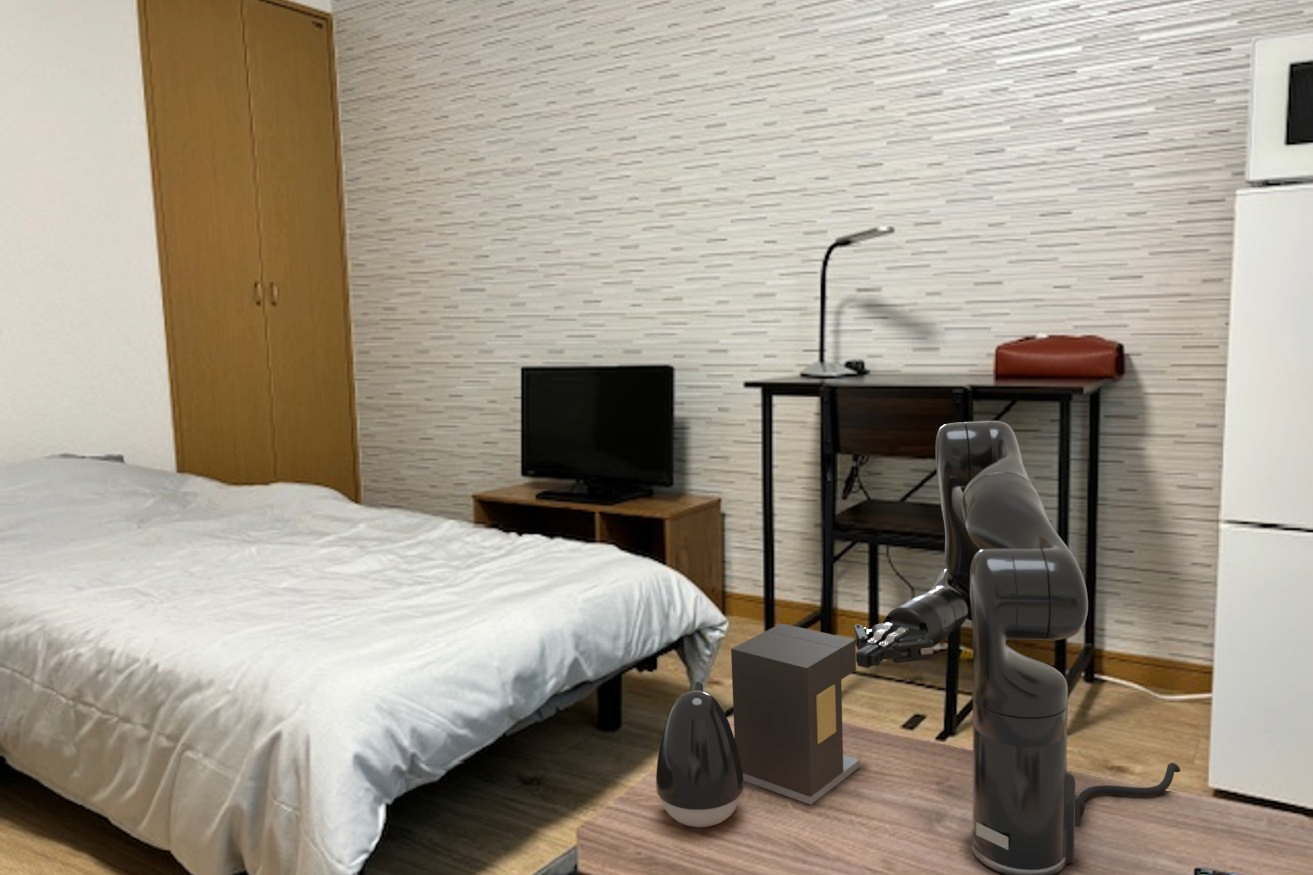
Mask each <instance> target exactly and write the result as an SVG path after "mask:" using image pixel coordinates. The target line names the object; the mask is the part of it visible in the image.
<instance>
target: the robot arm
mask: <svg viewBox="0 0 1313 875" xmlns="http://www.w3.org/2000/svg"><path fill="white" fill-rule="evenodd" d="M934 452H935V466H936V467H935V468H936V477H937V486H938V494H939V502H940V507H941V514H942V519H943V524H944V565H945V566H944V567H945V568H944V569H942V570H941V571H940V573H939V574H938V576H937V577H936V579H935V582H934V584H933V586H931V588H930V589H929V590H928V591H926V592H924V593H922V594H920V595H917V596H914V597H913V598H911V599H909V600H907V601H905V602H903V603H902V604H900V605H899V606H897V607H895V608H893V609H892V610H891V611H889V613H888V614H887V615H886V616H885V618H884V620H883V621H882V623H878V624H874V625H873V626H872V627H871V628H870V629H869V628H867V627H864V625H862V624H858V623H857V624H854V625H853V634H854V635H853V637H854V638H853V639H854V640H855V645H856V649H857V650H856V666H858V667H861V668H864V669H870V668H871V667H873V666H876V665H878V664H879V663H886V662H889V661H890V660H892V662H893V663H894V664H900V663H901V664H902V663H909V662H918V661H925V660H932V659H934V648H935V647H936V646H937V645H938V644H940V643H942V642H943V641H944V640H945V639H946V638H947V637H948V636H949V635H950V634H951V633H953V632H955V631H956V630H958V628H960V627H961V626H962V625H964V623H965V622H966V620H969V621H971V630H972V631H971V632H972V835H971V849H972V853H973V854H974V856H975V857H976V859H977V860H979V861H980V862H981V863H982V864H983V865H985V866H986V867H988V868H990V869H992V870H994V871H996V872H997V873H1001V874H1005V875H1055V874H1057V873H1059V872H1060V871H1061V870H1062V869H1064V868H1065V866H1066V865H1067V864H1068V865H1069V864H1073V863H1075V828H1078V827H1080V826H1081V820H1082V818H1083V815H1084V813H1085V810H1086V805H1085V802H1086V801H1087V800H1088V799H1089V798H1090V797H1092V796H1095V795H1100V794H1117V795H1126V796H1155V795H1158V794H1159V795H1160V793H1163V792H1165V791H1166V790H1167V789H1168V788H1169V787H1170V786H1171V784H1172V782H1173V779H1174V775H1175V773H1180V772H1182V771H1181V768H1180V766H1179V765H1178V764H1177V763H1175V762H1170V763H1168V764H1167V767H1166V771H1165V774H1164V777H1163V779H1162V780H1161V782H1160V783H1158V784H1157V785H1154V786H1147V787H1134V786H1123V785H1108V784H1106V785H1105V784H1104V785H1103V784H1102V785H1093V786H1091V787H1088V788H1086V789H1084V790H1083V791H1081V792H1080V793H1079V795H1077V794H1076V778H1075V775H1073V774H1072V773H1071V772H1070V771H1068V768H1067V767H1068V704H1069V703H1068V702H1069V699H1068V697H1069V688H1068V682H1067V680H1066V678H1065V676H1064V675H1063V673H1062V672H1060V671H1059V670H1058V669H1056V668H1055V667H1053V666H1052V665H1050V664H1047V663H1045V662H1043V661H1039V660H1037V659H1035V658H1032V657H1029V656H1026V655H1025V654H1022V653H1020V652H1019V651H1016V650H1015V649H1013V648H1011V647H1010V646H1009V645H1007V641H1008V640H1014V641H1015V640H1017V641H1018V640H1019V641H1021V640H1022V641H1023V640H1024V641H1060V640H1066V639H1069V638H1072V637H1074V636H1076V635H1077V634H1078V633H1079V632H1081V630H1082V629H1083V627H1084V626H1085V624H1086V621H1087V617H1088V613H1089V612H1088V611H1089V598H1088V591H1087V590H1088V589H1087V586H1086V581H1085V579H1084V576H1083V572H1082V570H1081V568H1080V565H1079V563H1078V561H1077V559H1076V558H1075V556H1074V554H1073V553H1072V551H1071V549H1070V548H1069V547H1068V546H1067V544H1066V543H1065V542H1064V541H1063V539H1062V538H1061V537H1060V535H1059V533H1057V532H1056V530H1055V529H1054V527H1053V525H1052V523H1051V521H1050V518H1049V516H1048V514H1047V510H1046V508H1045V506H1044V503H1043V501H1042V498H1041V497H1040V495H1039V492H1038V490H1037V488H1036V487H1035V485H1034V484H1033V482H1032V480H1031V478H1030V476H1029V474H1028V471H1027V470H1026V467H1025V464H1024V460H1023V456H1022V453H1021V448H1020V445H1019V442H1018V438H1017V435H1016V433H1015V431H1014V429H1013V428H1012V427H1011V426H1010V425H1009V423H1006V422H1005V421H1000V420H979V421H978V420H977V421H964V422H961V421H960V422H951V423H946V424H943V425H942V426H940V427H939V429H938V431H937V434H936V438H935V451H934ZM962 488H964V490H963V491H962Z"/></svg>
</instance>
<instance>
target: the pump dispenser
mask: <svg viewBox="0 0 1313 875" xmlns="http://www.w3.org/2000/svg"><path fill="white" fill-rule="evenodd" d="M692 689H693V690H689V691H687V692H685V693H683V694H681V695H680V696H679V697H678V698H677V699H676V701H675V702H674V703H673V705H672V707H671V708H670V711H669V713H668V716H667V718H666V721H665V724H664V728H663V732H662V736H661V740H660V744H659V748H658V749H659V750H658V755H657V762H656V770H655V771H656V772H655V790H656V793H657V796H658V797H659V798H660V801H661V804H662V806H663V808H664V809H665V811H666V813H667V814H668V815H669V816H670V817H671V818H672V819H673V820H675V821H676V822H678V823H680V824H682V825H685V826H688V827H694V828H707V827H712V826H716V825H718V824H720V823H722V822H724V821H725V820H727V819H728V818H729V817H730V816H731V815H732V814H733V813H734V812H735V810H736V808H737V806H738V804H739V802H740V798H741V795H742V793H743V791H744V787H745V783H744V782H745V781H744V779H743V771H742V766H741V761H740V756H739V752H738V748H737V745H736V741H735V737H734V731H733V729H732V727H731V724H730V721H729V718H728V716H727V714H726V713H725V711H724V709H723V707H722V706H721V704H720V703H719V702H718V700H717V699H716V698H715V697H714V696H713V695H712V694H711V693H708V692H706V691H704V684H703V682H701V681H696V682H694V684H693V688H692Z"/></svg>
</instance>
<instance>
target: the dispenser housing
mask: <svg viewBox="0 0 1313 875" xmlns="http://www.w3.org/2000/svg"><path fill="white" fill-rule="evenodd" d="M856 649H857V647H856V644H855V640H854V638H849V637H845V636H840V635H836V634H831V633H826V632H823V631H819V630H818V631H817V630H813V629H810V628H809V629H808V628H805V627H799V626H795V625H791V624H786V623H779V624H778V625H776V626H772V627H771V628H769V629H767V630H766V631H763V632H761V633H759V634H758V635H755V636H753V637H752V638H750V639H747V640H745V641H743V642H742V643H739V644H738V645H735V646H734V647H732V648H730V657H731V680H732V681H731V683H732V684H731V685H732V686H731V687H732V709H733V710H732V711H733V735H734V738H735V741H736V745H737V748H738V752H739V756H740V761H741V766H742V771H743V779H744V782H746V783H749V784H752V785H754V786H757V787H760V788H763V789H766V790H768V791H770V792H773V793H776V794H779V795H781V796H785V797H787V798H790V799H793V800H796V801H799V802H801V803H805V804H807V805H813V804H814V803H815V802H817V801H818V800H819V799H820V798H822V797H823V796H825V795H826V794H827V793H828V792H830V791H831V790H832V789H833V788H835V787H836V786H837V785H839V784H840V783H842V781H844V780H845V779H846V778H847V777H849V776H850V775H852V773H854V772H855V771H857V770H858V769H859V768H860V767H861V760H860V759H859V758H855V757H852V756H850V755H847V754H844V740H843V737H844V736H843V735H844V734H843V693H842V690H843V689H842V688H843V687H842V680H843V679H845V678H847V677H848V676H850V675H852V674H853V673H854V672H856V671H857V662H856V652H857V650H856Z"/></svg>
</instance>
